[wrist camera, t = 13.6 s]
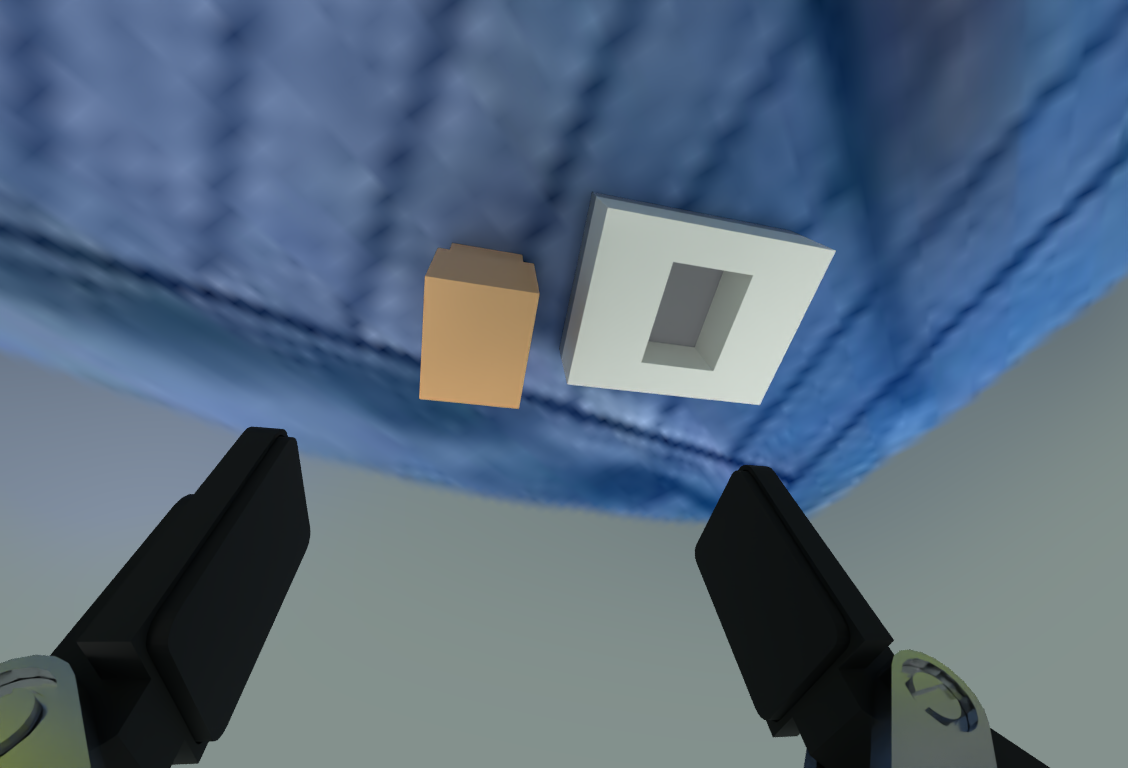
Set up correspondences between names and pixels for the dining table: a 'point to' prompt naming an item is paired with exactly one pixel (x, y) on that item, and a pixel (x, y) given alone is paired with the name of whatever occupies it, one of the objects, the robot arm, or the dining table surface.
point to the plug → (477, 326)
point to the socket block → (685, 301)
